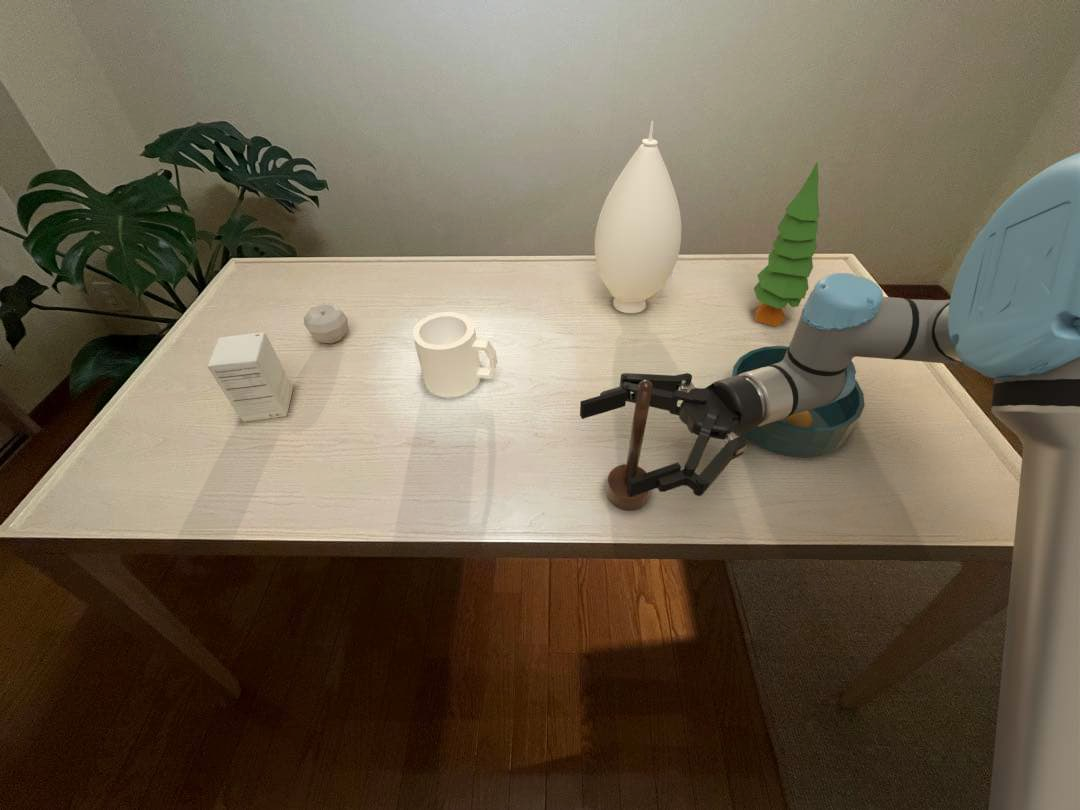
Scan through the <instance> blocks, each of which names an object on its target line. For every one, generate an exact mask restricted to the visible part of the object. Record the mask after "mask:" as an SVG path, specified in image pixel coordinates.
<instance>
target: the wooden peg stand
mask: <svg viewBox="0 0 1080 810" xmlns="http://www.w3.org/2000/svg"><path fill="white" fill-rule="evenodd" d="M652 388H653V386H652V383H651V382H650V381H648V380H643V381H641V382H640V383H639V386H638V393H637V399H636V403H635V406H634V413H633V418H632V426H631V431H630V436H629V443H628V451H627V457H626V462H625V463H624V464H619V465H617V466H615V467H613V468H612V470H610V471H609V474H608V477H607V483H606V497H607V499H608V501H609V502H610V503H611V505H613V506H614V507H615V508H616V509H617V508H618V509H619V510H622V511H627V512H629V511H631V512H632V511H636V510H640V509H641V508H642V507H644V506H645V505H646V504H647V502H648V501H649V495H650V491H647V492H644V493H641V494H638V495H635V496H632V497H629V496H628V494H627V487H628V482H629V479H630V478H633V477H636V476H639V475H642V474H645V473H647V471H646V470H645V469H643V468H642V467H640V466H639V465H640V464H639V463H640V458H641V453H642V448H643V442H644V435H645V430H646V425H647V420H648V415H649V409H650V406H649V404H650V399H651V394H652Z"/></svg>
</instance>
